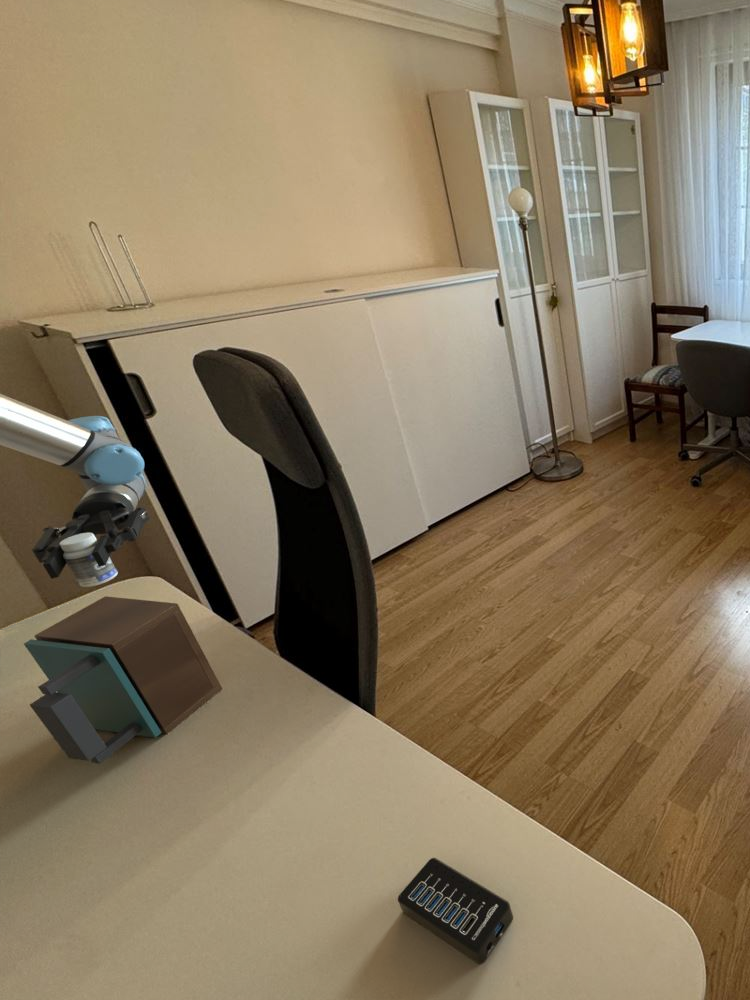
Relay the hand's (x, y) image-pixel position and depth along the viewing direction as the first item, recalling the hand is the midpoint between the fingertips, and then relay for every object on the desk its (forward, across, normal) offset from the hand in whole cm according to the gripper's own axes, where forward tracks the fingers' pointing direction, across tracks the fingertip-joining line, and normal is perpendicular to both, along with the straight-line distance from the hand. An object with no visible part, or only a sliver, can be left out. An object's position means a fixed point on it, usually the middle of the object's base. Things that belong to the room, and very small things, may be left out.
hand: (75, 564), depth 90 cm
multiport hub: (+82, -38, -13) cm, 91 cm away
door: (+33, -4, -12) cm, 36 cm away
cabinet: (+28, -9, -13) cm, 32 cm away
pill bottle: (-5, 0, -6) cm, 8 cm away
